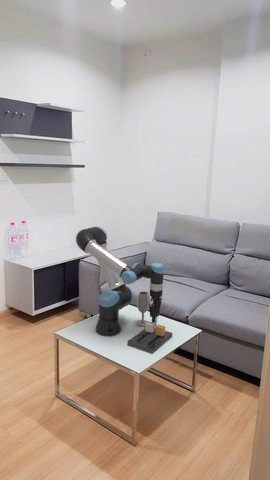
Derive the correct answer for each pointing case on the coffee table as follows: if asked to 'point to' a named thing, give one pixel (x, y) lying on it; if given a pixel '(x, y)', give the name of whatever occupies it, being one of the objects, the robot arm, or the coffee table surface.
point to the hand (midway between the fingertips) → (154, 326)
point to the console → (149, 340)
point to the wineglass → (143, 306)
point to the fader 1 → (150, 327)
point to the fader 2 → (160, 330)
